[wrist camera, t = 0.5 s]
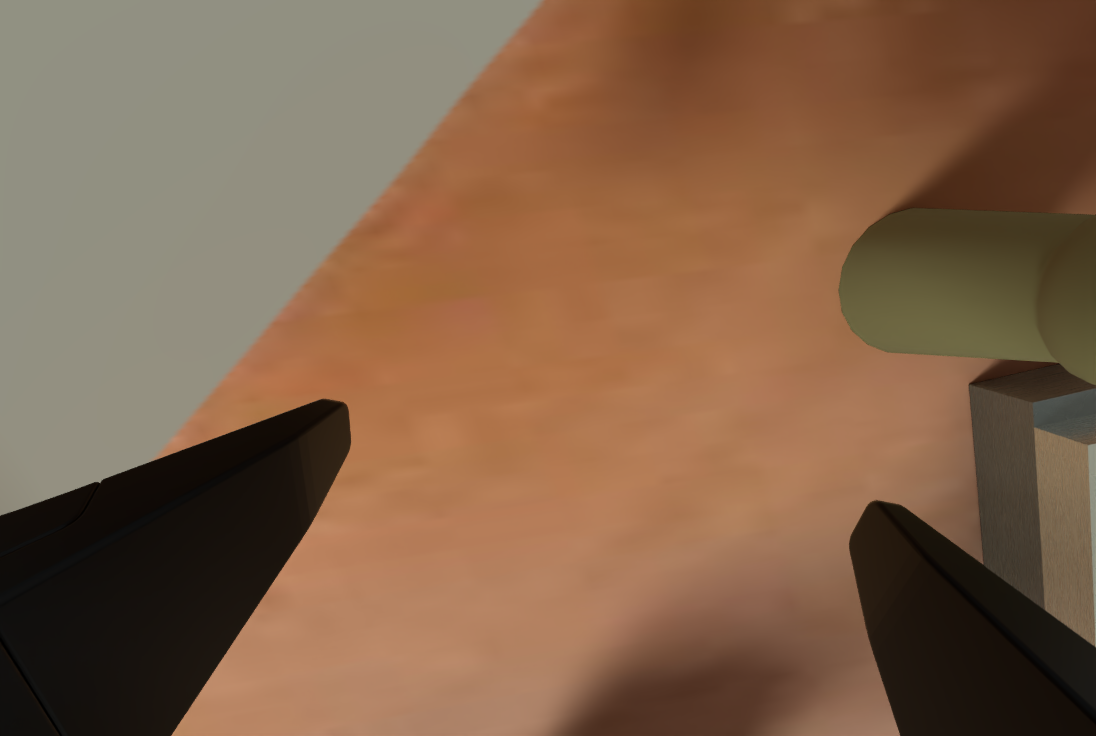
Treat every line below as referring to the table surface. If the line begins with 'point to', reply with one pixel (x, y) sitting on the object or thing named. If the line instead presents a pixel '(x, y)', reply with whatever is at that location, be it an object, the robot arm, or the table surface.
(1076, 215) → the olive knobbed post
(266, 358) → the table surface
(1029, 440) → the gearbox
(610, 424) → the table surface
